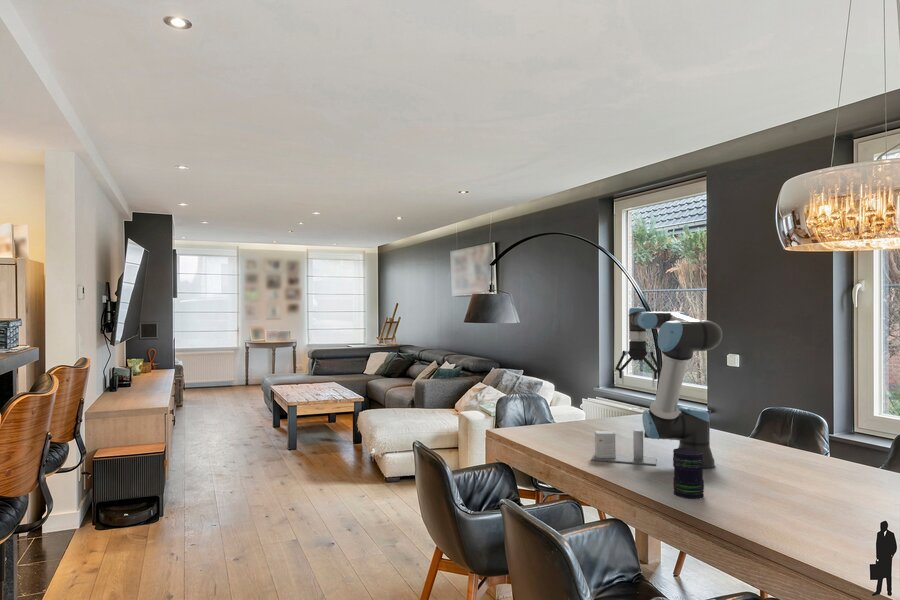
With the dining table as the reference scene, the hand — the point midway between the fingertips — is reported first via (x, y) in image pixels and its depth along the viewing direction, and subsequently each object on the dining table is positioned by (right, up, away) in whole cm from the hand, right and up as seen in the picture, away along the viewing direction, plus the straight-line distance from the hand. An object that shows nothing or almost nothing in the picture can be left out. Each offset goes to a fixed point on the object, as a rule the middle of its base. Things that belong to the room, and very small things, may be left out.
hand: (638, 386), depth 270 cm
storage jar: (-5, -27, -70) cm, 75 cm away
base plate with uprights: (-13, -28, -22) cm, 38 cm away
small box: (-21, -28, -20) cm, 40 cm away
